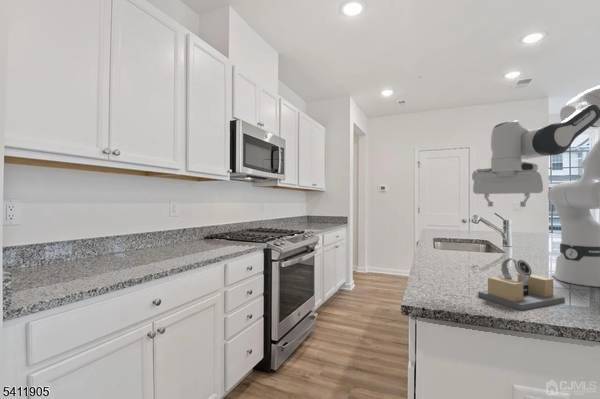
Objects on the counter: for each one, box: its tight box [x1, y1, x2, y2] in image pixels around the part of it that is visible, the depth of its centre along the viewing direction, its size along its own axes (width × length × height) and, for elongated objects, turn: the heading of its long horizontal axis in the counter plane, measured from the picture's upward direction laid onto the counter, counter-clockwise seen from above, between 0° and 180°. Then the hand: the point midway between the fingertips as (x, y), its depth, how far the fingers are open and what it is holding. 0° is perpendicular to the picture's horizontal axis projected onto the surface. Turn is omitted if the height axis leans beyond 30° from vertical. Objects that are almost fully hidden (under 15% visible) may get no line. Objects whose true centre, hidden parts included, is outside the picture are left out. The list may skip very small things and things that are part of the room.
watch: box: [500, 257, 533, 295], centre depth 94 cm, size 6×8×11 cm
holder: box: [477, 273, 566, 311], centre depth 93 cm, size 20×13×6 cm, turn 111°
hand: (506, 206), depth 105 cm, fingers open, 8 cm apart
